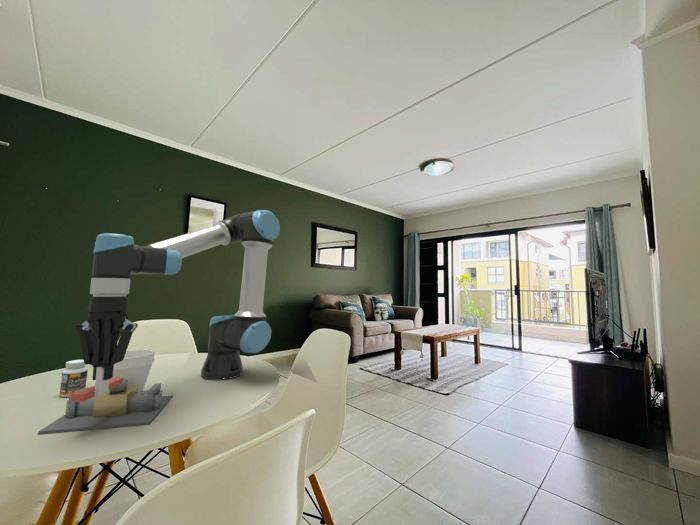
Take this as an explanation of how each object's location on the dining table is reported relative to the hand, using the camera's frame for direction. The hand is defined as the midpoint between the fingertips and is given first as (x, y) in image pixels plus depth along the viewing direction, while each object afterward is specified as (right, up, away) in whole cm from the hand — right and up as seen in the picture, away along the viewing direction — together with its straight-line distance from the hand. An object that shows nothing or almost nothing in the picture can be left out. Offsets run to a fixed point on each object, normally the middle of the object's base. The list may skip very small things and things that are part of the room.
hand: (101, 393), depth 68 cm
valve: (-3, -9, +7) cm, 12 cm away
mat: (-3, -9, +7) cm, 12 cm away
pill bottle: (-26, -9, +19) cm, 33 cm away
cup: (-7, -10, +17) cm, 21 cm away
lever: (-2, -2, +3) cm, 4 cm away
